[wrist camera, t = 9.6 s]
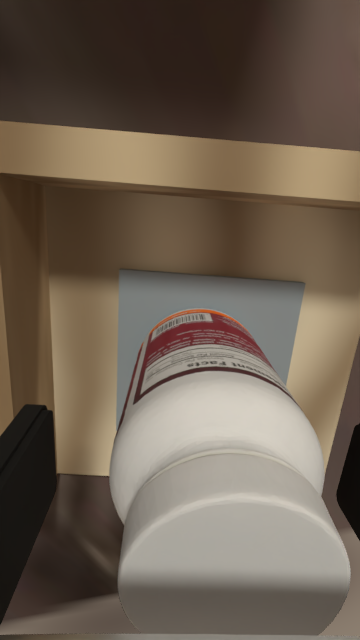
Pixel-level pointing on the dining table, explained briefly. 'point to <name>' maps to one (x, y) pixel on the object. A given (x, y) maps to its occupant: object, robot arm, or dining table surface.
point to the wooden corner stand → (163, 261)
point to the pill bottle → (220, 491)
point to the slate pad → (209, 293)
